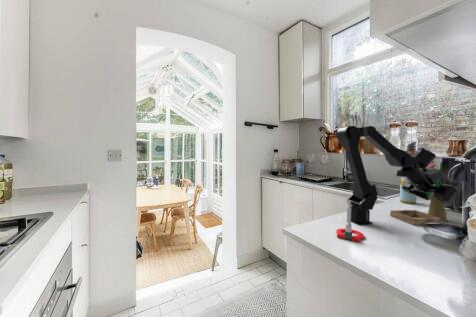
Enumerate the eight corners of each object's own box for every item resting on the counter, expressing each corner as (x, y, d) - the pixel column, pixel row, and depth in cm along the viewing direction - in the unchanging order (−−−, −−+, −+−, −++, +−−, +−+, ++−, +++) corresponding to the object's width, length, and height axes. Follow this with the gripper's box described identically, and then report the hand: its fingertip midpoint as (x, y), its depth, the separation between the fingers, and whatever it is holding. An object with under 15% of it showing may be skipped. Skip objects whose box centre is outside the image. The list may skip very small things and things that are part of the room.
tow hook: (338, 229, 78) (333, 237, 70) (339, 195, 78) (335, 199, 70) (364, 235, 73) (362, 243, 66) (366, 198, 73) (364, 202, 65)
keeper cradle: (414, 225, 80) (414, 219, 80) (390, 216, 92) (390, 210, 92) (441, 224, 81) (442, 218, 81) (414, 215, 93) (414, 209, 93)
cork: (440, 222, 84) (441, 195, 83) (423, 217, 90) (424, 192, 89) (450, 221, 85) (451, 194, 85) (433, 216, 91) (434, 191, 91)
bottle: (414, 202, 116) (415, 175, 115) (417, 204, 110) (418, 176, 109) (398, 200, 120) (399, 174, 119) (400, 203, 114) (401, 175, 113)
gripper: (453, 164, 77) (479, 193, 78) (408, 161, 95) (430, 184, 97) (433, 185, 76) (459, 214, 78) (391, 178, 95) (413, 201, 96)
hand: (439, 202), depth 87 cm, fingers open, 9 cm apart
